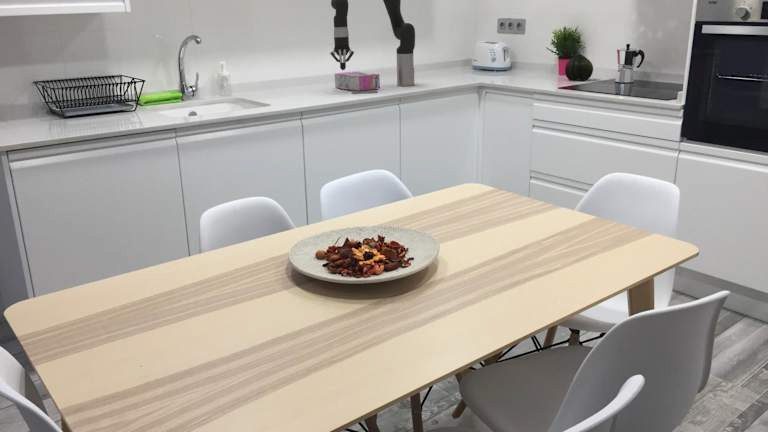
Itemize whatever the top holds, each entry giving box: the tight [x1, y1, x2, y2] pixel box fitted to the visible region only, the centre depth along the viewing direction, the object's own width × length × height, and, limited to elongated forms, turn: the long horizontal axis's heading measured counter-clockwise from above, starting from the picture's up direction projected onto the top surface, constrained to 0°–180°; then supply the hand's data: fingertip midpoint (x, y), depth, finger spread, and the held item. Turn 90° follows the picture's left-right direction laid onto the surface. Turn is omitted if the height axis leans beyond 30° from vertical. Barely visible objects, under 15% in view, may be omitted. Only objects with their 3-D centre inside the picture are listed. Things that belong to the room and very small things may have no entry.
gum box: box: [334, 71, 381, 91], centre depth 368 cm, size 24×8×14 cm
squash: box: [564, 53, 594, 82], centre depth 379 cm, size 14×15×15 cm
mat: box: [350, 89, 378, 95], centre depth 364 cm, size 13×26×1 cm, turn 6°
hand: (343, 69), depth 359 cm, fingers closed
